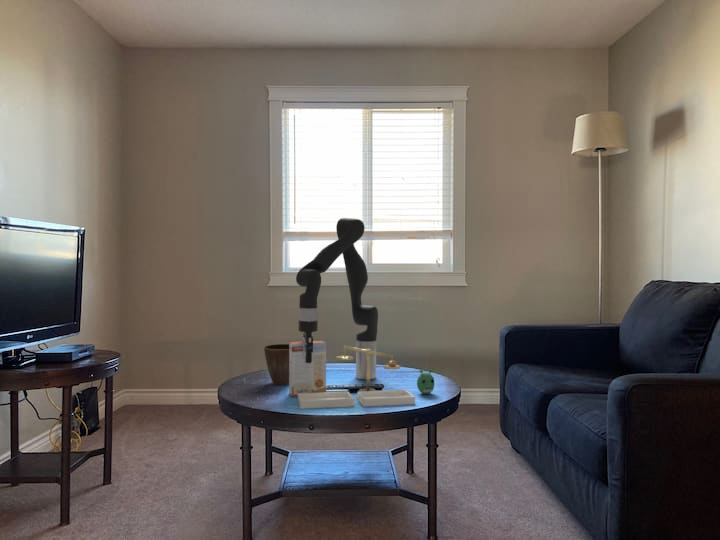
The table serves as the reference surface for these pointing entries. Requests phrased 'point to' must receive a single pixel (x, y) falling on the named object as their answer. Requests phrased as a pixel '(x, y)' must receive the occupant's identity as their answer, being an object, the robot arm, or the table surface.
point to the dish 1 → (325, 399)
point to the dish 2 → (385, 397)
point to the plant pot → (278, 363)
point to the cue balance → (390, 363)
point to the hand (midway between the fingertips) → (307, 361)
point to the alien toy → (425, 382)
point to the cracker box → (307, 368)
